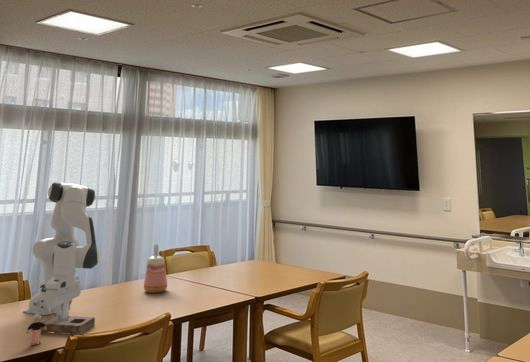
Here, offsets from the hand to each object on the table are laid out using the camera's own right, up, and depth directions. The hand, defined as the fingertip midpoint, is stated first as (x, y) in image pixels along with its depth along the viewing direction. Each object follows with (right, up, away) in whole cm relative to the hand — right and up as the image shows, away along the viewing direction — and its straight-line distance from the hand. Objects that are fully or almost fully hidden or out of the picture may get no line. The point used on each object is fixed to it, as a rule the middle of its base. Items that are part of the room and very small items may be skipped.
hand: (63, 312), depth 179 cm
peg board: (-6, -13, +16) cm, 21 cm away
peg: (0, -4, 0) cm, 4 cm away
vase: (+17, -14, +85) cm, 87 cm away
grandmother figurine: (-10, -13, -3) cm, 17 cm away
